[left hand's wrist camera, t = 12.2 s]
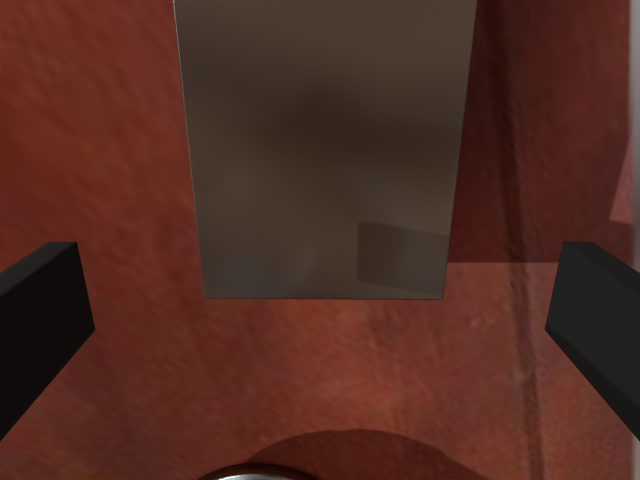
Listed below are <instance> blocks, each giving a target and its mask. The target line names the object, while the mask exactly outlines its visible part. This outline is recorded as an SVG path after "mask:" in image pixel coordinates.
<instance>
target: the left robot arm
mask: <svg viewBox="0 0 640 480" xmlns="http://www.w3.org/2000/svg"><path fill="white" fill-rule="evenodd" d="M94 331H95V326H94V321H93V316H92V312H91V307H90V302H89V297H88V293H87V288H86V283H85V278H84V274H83V269H82V264H81V259H80V255H79V250H78V245H77V242H47V243H46V244H44V245H43V246H41V247H40V248H38V249H37V250H35V251H34V252H32V253H30V254H29V255H27V256H26V257H24V258H23V259H21V260H20V261H18V262H17V263H15V264H14V265H12V266H10V267H9V268H7V269H6V270H4V271H3V272H1V273H0V441H1V440H2V439H3V438H4V436H5V435H6V434H7V433H8V432H9V431H10V429H11V428H12V427H13V426H14V425H15V423H16V422H17V421H18V420H19V419H20V418H21V416H22V415H23V414H24V413H25V412H26V411H27V409H28V408H29V407H30V406H31V405H32V404H33V402H34V401H35V400H36V399H37V398H38V396H39V395H40V394H41V393H42V392H43V391H44V389H45V388H46V387H47V386H48V385H49V384H50V382H51V381H52V380H53V379H54V378H55V376H56V375H57V374H58V373H59V372H60V371H61V369H62V368H63V367H64V366H65V365H66V364H67V362H68V361H69V360H70V359H71V358H72V357H73V355H74V354H75V353H76V352H77V351H78V349H79V348H80V347H81V346H82V345H83V344H84V342H85V341H86V340H87V339H88V338H89V337H90V335H91V334H92V333H93V332H94ZM545 331H546V332H547V333H548V334H549V335H550V337H551V338H552V339H553V340H554V341H555V342H556V344H557V345H558V346H559V347H560V348H561V349H562V351H563V352H564V353H565V354H566V355H567V357H568V358H569V359H570V360H571V361H572V362H573V364H574V365H575V366H576V367H577V368H578V369H579V371H580V372H581V373H582V374H583V375H584V376H585V378H586V379H587V380H588V381H589V382H590V384H591V385H592V386H593V387H594V388H595V389H596V391H597V392H598V393H599V394H600V395H601V396H602V398H603V399H604V400H605V401H606V402H607V404H608V405H609V406H610V407H611V408H612V409H613V411H614V412H615V413H616V414H617V415H618V416H619V418H620V419H621V420H622V421H623V422H624V423H625V425H626V426H627V427H628V428H629V429H630V431H631V432H632V433H633V434H634V435H635V436H636V438H637V439H638V440H639V441H640V273H639V272H637V271H636V270H634V269H633V268H631V267H630V266H628V265H626V264H625V263H623V262H622V261H620V260H619V259H617V258H616V257H614V256H613V255H611V254H610V253H608V252H606V251H605V250H603V249H602V248H600V247H599V246H597V245H596V244H594V243H593V242H563V245H562V250H561V255H560V259H559V264H558V269H557V274H556V278H555V283H554V288H553V293H552V297H551V302H550V307H549V312H548V316H547V321H546V326H545ZM198 480H316V479H314V478H312V477H310V476H308V475H306V474H304V473H301V472H299V471H296V470H293V469H289V468H285V467H281V466H275V465H268V464H244V465H236V466H230V467H226V468H222V469H219V470H216V471H213V472H211V473H209V474H207V475H205V476H203V477H201V478H199V479H198Z"/></svg>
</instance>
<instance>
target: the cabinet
mask: <svg viewBox="0 0 640 480" xmlns="http://www.w3.org/2000/svg"><path fill="white" fill-rule="evenodd" d="M172 2H173V11H174V21H175V30H176V40H177V49H178V59H179V68H180V78H181V87H182V96H183V106H184V115H185V125H186V134H187V144H188V153H189V163H190V172H191V182H192V191H193V200H194V210H195V219H196V229H197V238H198V248H199V257H200V267H201V276H202V285H203V295H204V298H205V299H391V300H442V299H443V294H444V285H445V277H446V268H447V260H448V251H449V243H450V234H451V225H452V217H453V208H454V200H455V191H456V182H457V174H458V165H459V157H460V148H461V139H462V131H463V122H464V114H465V105H466V97H467V88H468V79H469V71H470V62H471V54H472V45H473V36H474V28H475V19H476V11H477V2H478V0H172Z"/></svg>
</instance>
